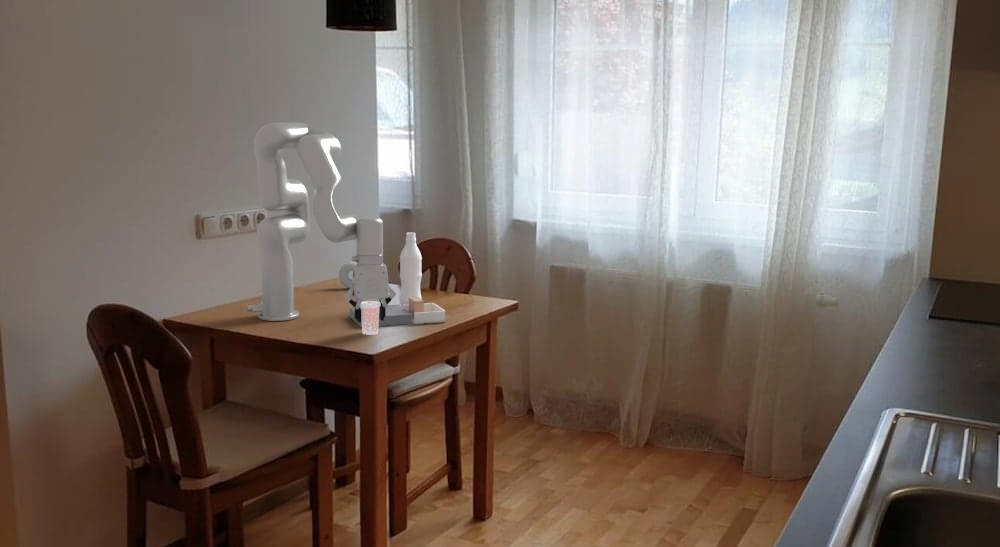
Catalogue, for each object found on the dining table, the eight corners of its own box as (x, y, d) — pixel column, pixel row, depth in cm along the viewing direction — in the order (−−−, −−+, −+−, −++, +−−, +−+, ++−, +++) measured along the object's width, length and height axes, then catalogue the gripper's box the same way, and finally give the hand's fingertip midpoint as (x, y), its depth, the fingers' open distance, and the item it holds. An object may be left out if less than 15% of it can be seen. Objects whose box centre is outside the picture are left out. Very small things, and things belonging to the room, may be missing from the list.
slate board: (360, 327, 268) (360, 317, 267) (350, 317, 281) (349, 307, 280) (412, 323, 274) (412, 314, 273) (399, 313, 287) (399, 304, 286)
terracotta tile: (414, 301, 275) (423, 300, 277) (408, 297, 281) (417, 296, 282) (414, 320, 277) (423, 319, 278) (408, 316, 282) (417, 315, 283)
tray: (414, 324, 273) (414, 313, 272) (402, 315, 284) (403, 304, 284) (445, 322, 277) (446, 311, 276) (433, 313, 288) (433, 302, 287)
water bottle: (411, 311, 290) (411, 235, 286) (395, 307, 295) (395, 232, 290) (426, 307, 296) (426, 232, 291) (410, 304, 300) (410, 230, 296)
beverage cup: (373, 336, 258) (373, 289, 255) (355, 334, 260) (355, 287, 258) (384, 331, 263) (384, 285, 261) (366, 329, 266) (366, 283, 263)
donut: (338, 289, 321) (338, 262, 319) (339, 287, 324) (338, 260, 322) (366, 290, 322) (366, 262, 320) (367, 288, 325) (366, 261, 323)
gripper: (343, 263, 251) (343, 325, 254) (402, 260, 258) (402, 321, 261) (337, 259, 258) (338, 319, 261) (395, 256, 265) (395, 315, 268)
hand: (370, 319), depth 261 cm, fingers closed on beverage cup, 6 cm apart
